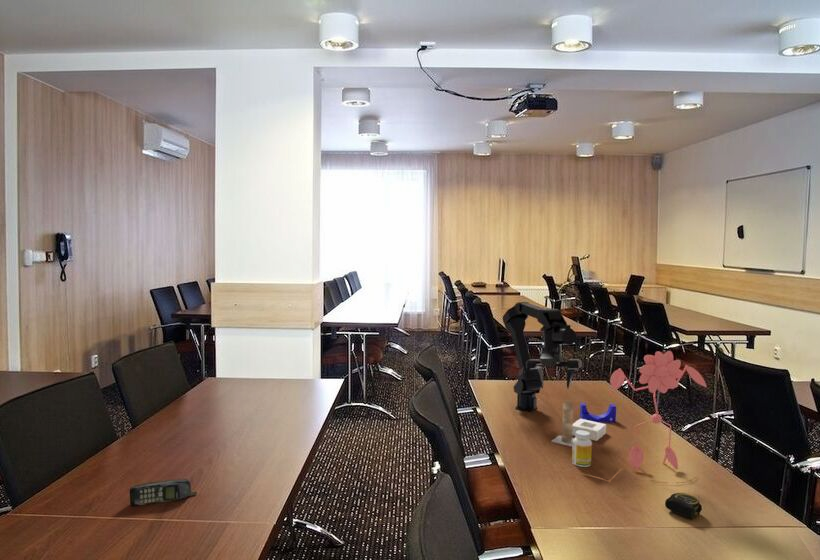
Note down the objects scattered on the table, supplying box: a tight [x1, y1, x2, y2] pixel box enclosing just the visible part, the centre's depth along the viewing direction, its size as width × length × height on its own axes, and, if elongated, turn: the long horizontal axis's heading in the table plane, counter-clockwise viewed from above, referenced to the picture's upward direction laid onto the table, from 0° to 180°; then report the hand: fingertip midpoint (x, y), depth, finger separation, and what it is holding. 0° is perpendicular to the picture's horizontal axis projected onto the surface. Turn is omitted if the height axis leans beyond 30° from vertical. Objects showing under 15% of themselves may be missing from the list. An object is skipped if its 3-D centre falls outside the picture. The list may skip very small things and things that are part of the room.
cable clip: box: [579, 402, 617, 423], centre depth 197 cm, size 12×4×6 cm, turn 85°
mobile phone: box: [129, 478, 198, 507], centre depth 134 cm, size 5×3×15 cm
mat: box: [550, 434, 574, 448], centre depth 176 cm, size 8×7×1 cm
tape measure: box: [664, 492, 703, 520], centre depth 131 cm, size 7×7×4 cm
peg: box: [561, 401, 574, 443], centre depth 175 cm, size 3×3×12 cm
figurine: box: [609, 350, 707, 484], centre depth 152 cm, size 15×26×35 cm, turn 89°
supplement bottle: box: [571, 430, 593, 468], centre depth 158 cm, size 5×5×10 cm
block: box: [572, 418, 607, 442], centre depth 183 cm, size 9×9×4 cm
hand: (555, 388), depth 193 cm, fingers open, 9 cm apart
